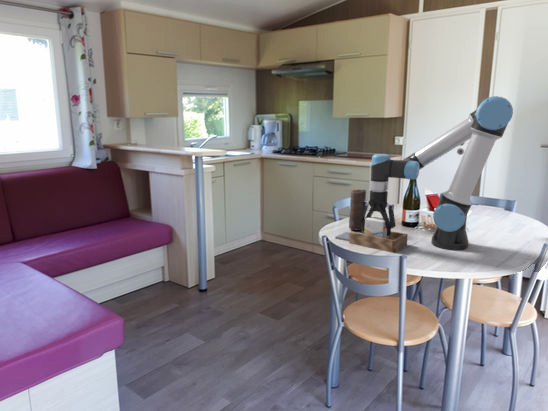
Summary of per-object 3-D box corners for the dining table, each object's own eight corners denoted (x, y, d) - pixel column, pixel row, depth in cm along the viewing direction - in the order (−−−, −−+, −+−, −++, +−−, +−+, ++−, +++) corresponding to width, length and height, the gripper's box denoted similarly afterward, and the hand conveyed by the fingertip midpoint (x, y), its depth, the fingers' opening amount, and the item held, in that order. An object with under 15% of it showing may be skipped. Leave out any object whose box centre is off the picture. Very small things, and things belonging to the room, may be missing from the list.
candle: (363, 232, 212) (366, 191, 208) (348, 231, 214) (350, 191, 209) (364, 228, 220) (366, 188, 215) (349, 227, 221) (350, 188, 217)
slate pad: (361, 236, 206) (361, 234, 206) (350, 241, 198) (350, 239, 198) (346, 233, 211) (346, 231, 211) (335, 238, 203) (335, 236, 203)
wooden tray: (406, 244, 194) (407, 234, 193) (394, 252, 184) (395, 241, 183) (363, 236, 207) (363, 225, 205) (349, 243, 196) (349, 232, 195)
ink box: (381, 247, 190) (383, 221, 187) (363, 244, 194) (364, 218, 192) (388, 242, 197) (389, 217, 194) (370, 239, 201) (371, 214, 199)
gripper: (406, 192, 187) (402, 243, 192) (360, 186, 200) (358, 234, 205) (399, 194, 181) (395, 247, 186) (352, 188, 194) (350, 237, 199)
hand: (375, 240), depth 195 cm, fingers closed on ink box, 9 cm apart
